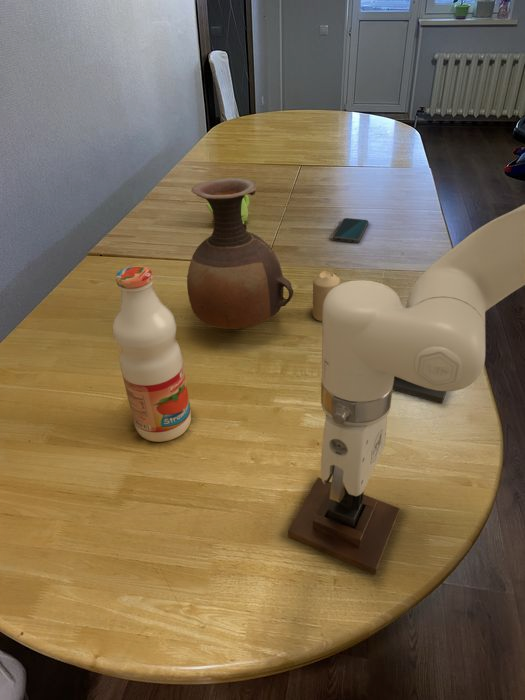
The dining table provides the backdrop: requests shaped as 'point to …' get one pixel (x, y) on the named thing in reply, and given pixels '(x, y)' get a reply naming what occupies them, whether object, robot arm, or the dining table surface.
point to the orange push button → (418, 390)
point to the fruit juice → (150, 358)
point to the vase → (233, 264)
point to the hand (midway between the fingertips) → (348, 502)
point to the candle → (322, 291)
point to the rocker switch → (343, 514)
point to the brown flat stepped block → (345, 528)
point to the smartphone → (350, 230)
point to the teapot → (243, 208)
